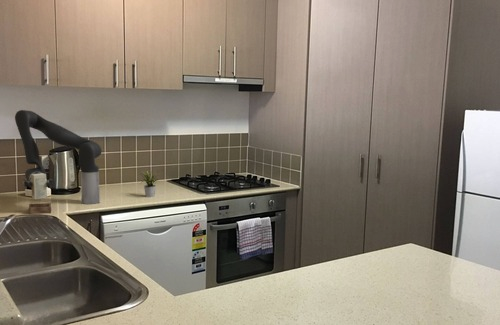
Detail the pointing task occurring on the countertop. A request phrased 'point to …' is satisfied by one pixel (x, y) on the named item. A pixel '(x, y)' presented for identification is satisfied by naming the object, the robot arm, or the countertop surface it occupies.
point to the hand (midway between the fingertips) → (39, 185)
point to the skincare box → (39, 186)
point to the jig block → (39, 208)
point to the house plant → (149, 185)
